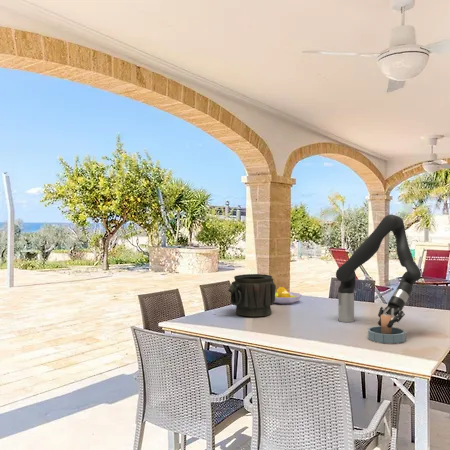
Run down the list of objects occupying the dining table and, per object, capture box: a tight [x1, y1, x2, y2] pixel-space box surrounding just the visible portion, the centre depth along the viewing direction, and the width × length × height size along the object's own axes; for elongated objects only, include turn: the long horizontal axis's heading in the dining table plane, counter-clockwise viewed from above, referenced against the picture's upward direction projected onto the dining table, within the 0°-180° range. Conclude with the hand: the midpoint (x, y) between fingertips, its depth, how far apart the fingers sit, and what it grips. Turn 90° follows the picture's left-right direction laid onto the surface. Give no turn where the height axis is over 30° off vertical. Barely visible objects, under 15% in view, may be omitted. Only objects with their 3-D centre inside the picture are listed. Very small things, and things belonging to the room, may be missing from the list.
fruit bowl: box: [273, 286, 302, 305], centre depth 340 cm, size 28×27×11 cm
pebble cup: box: [381, 314, 393, 334], centre depth 233 cm, size 5×5×10 cm
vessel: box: [227, 273, 277, 317], centre depth 300 cm, size 31×32×25 cm
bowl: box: [367, 325, 407, 344], centre depth 233 cm, size 18×18×4 cm
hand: (384, 325), depth 232 cm, fingers closed on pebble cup, 5 cm apart
